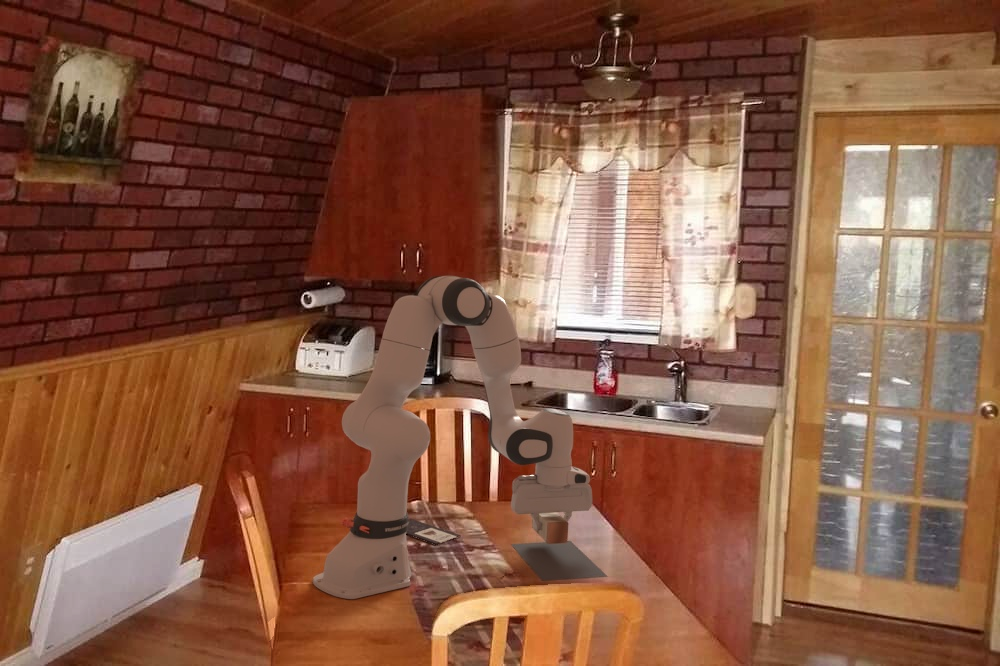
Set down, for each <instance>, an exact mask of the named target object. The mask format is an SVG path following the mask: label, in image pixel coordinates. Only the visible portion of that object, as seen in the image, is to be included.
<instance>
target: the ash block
mask: <svg viewBox="0 0 1000 666" xmlns="http://www.w3.org/2000/svg"><path fill="white" fill-rule="evenodd" d="M563 517H564V516H562V515H560V514H559V512H554V513H539V516H538V517H536V518H537V520H538V522H539V521H540V522H541V523H542V530H538V531H536V530H535V529H534V521H533V519H532V518H531V519H532V520H531V528H532V530H534V531H535V533H536V534H538V536H539V537H540V538H541V539H542V540H543V542H546V543H547V544H558V543H567V541H569V540H568V537H569V536H568V535H569V521H568V522H567V521H566V520H565V519H564V518H563Z"/></svg>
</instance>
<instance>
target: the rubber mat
mask: <svg viewBox="0 0 1000 666" xmlns="http://www.w3.org/2000/svg"><path fill="white" fill-rule="evenodd" d="M510 545H511V547H512V548H513V549H514V550H515V551H516V552H517V553H518V555H519V556H520V557H521V558H522V559H523V561H524V562H525V563H526V564H527V565H528V566H529V568H530V569H531V570H532V571H533V572H534V574H536V575H537V577H538V578H539V579H540V580H541V582H547V581H549V582H550V581H563V580H576V579H577V580H578V579H591V578H594V579H595V578H605V577H608V575H607V574H606V573H605V572H604V571H603V570H602V569H601V568H600V567H599V566H598V565H596V563H594V562H593V561H592V560H591V559H590V558H589V557H588V556H587V555H586V554H585V553H584V552H583V551H582V550H581V549H579V547H578V546H576V544H574V543H573V541H571V540H567V543H558V544H547V543H546V542H545V541H542V542H527V543H511V544H510Z"/></svg>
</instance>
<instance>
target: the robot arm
mask: <svg viewBox="0 0 1000 666" xmlns="http://www.w3.org/2000/svg"><path fill="white" fill-rule="evenodd" d="M442 324H444V325H448V326H459V327H465V328H466V331H467V332H468V334H469V337H470V339H469V340H470V342H471V347H472V351H473V355H474V357H475V361H476V364H477V365H478V370H479V373H480V375H481V378H482V381H483V387H484V392H485V395H486V401H487V402H486V403H487V406H488V410H489V424H488V432H487V439H488V442H489V445H490V446H491V448H492V449H493V450H494V451H496V452H497V453H498V454H501V455H503V456H504V458H506V459H508V460H510V461H511V462H512V463H514V464H516V465H519V466H528V465H534V464H535V473H534V474H531V475H518V476H517V477H516V478H514V479H513V481H512V484H511V490H512V496H511V502H510V508H511V510H512V511H513V513H515V514H516V515H529V516H530V517H531V519H533V521H534V529H535V530H536V531H538V530H542V523H541V522H540V521H539V522H538V520H537V518H536V517H538V516H539V513H554V512H557V513H563V514H564V515H563V516H562V517H563V518H564V519H565V520H566V521H567V522H568V523H569V521H570V519H571V518H572V515H573V513H574V512H587V511H590V509H592V507H593V490H592V486H591V485H590V481H591V477H590V475H589V474H588V473H587V472H586V471H585V470H583V469H582V468H579V467H576V466H572V465H573V464H572V463H573V460H572V456H571V455H572V450H573V448H574V426H573V425H574V424H573V419H572V417H571V415H570V414H568V413H567V412H565V411H562V410H559V409H558V408H557V409H556V408H550V407H549V408H548V407H547V408H546V407H545V408H542V409H541V410H540V411H539V412H538V413H537V414H535V415H534V416H531V417H530V418H528V419H527V420H522V418H521V417H520V416H519V415H518V413H517V411H516V408H515V403H514V398H513V393H512V388H511V377H512V375H513V374H514V373H515V372H516V371H517V370H518V369H519V368H520V366H521V363H522V351H521V350H522V349H521V342H520V340H519V339H520V337H519V335H518V331H517V328H516V324H515V322H514V319H513V316H512V313H511V311H510V309H509V306H508V305H507V303H506V301H505V299H504V298H502V297H501V296H499V295H496V294H491V293H488V292H487V291H486V289H485V288H484V287H483V286H482V285H481V284H480V283H478V282H477V281H476V280H474V279H471V278H467V277H459V276H457V275H456V276H455V275H436V276H433V277H430V278H428V279H427V280H425V281H424V282H423V283H421V285H420V287H419V288H418V289H417V290H416V292H415V293H414V294H412V295H404V296H402V297H399V298H398V299H397V300H396V301H395V303H394V304H393V306H392V308H391V311H390V313H389V315H388V318H387V321H386V323H385V326H384V330H383V333H382V336H381V337H382V338H381V340H380V344H379V348H378V352H377V357H376V359H375V363H374V367H373V370H372V373H371V375H370V377H369V380H367V383H366V385H365V386H364V388H363V390H362V392H361V393H360V395H359V396H358V397H357V399H356V400H354V401H352V402H351V403H350V404H349V405H348V406H346V409H345V410H344V411H343V414H342V417H341V428H342V431H343V432H344V434H345V435H346V436H347V438H349V439H350V440H351V442H353V443H354V444H356V446H359V447H361V448H364V449H366V450H368V451H370V454H371V455H370V463H369V466H368V468H367V470H366V471H365V472H364V473H362V475H360V477H359V478H358V482H357V505H356V508H357V509H356V512H355V515H354V516H353V519H350V518H349V517H344V518H342V520H341V525H342V527H344V528H347V529H349V532H348V533H347V535H345V536H344V537H343V538H342V539H341V540H340V542H339V543H337V544H336V545H335V547H334V548H333V549H332V550H331V551H330V552H329V553H328V554H327V555H326V558H325V562H324V567H323V568H324V569H323V572H321V573H318V574H316V575H315V576H313V577H312V584H313V585H314V587H316V588H317V589H319V590H320V591H322V592H324V593H326V594H328V595H330V596H333V597H337V598H341V599H347V600H356V599H359V598H364V597H367V596H368V597H369V596H372V595H376V594H381V593H385V592H389V591H394V590H398V589H403V588H406V587H410V586H411V577H412V575H413V574H412V570H411V566H410V560H409V555H408V553H409V552H408V543H407V535H406V531H407V530H408V519H409V513H408V512H407V511H408V510H407V509H408V493H409V492H408V491H409V490H408V489H409V481H410V478H411V473H412V471H413V467H414V465H415V463H416V462H417V461H418V459H419V458H421V457H422V456H424V454H425V453H426V451H427V450H428V448H429V446H430V441H431V430H430V428H429V427H430V426H429V425H428V424H427V423H426V421H424V420H423V419H422V418H421V417H420V416H417V415H416V414H415V413H414V412H412V411H409V410H407V409H404V408H403V406H404V404H405V402H406V400H407V398H408V397H409V395H410V394H411V393H413V391H414V390H416V389H417V388H419V387H420V386H421V384H422V383H423V379H424V376H425V371H426V369H427V365H428V364H427V363H428V361H429V355H430V351H431V347H432V342H433V337H434V336H435V332H436V331H437V329H438V328H439V326H441V325H442ZM534 529H533V530H534ZM535 530H534V531H535ZM536 531H535V532H536Z"/></svg>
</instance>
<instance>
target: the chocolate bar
mask: <svg viewBox="0 0 1000 666" xmlns="http://www.w3.org/2000/svg"><path fill="white" fill-rule="evenodd" d="M444 530H445V529H443V528H439V527H437V526H434V525H431V524H427V523H425V522H422V521H419V520H416V519H414V518H413V519H412V518H408V530H407V531H406V534H408V535H410V536H414V537H417V538H419V539H422V540H425V541H427V542H430V543H433V544H435V545H434V546H436V545H437V546H439V545H438V544H440V543H442V542H445V541H447V540H450V539H453V538H456V537H458V536H460V537H461V535H460V534H458V533H455V532H451V531H448V530H445V531H444ZM410 536H409V537H410ZM419 539H418V540H419ZM422 540H421V541H422ZM427 542H426V543H427ZM430 543H429V544H430ZM445 543H446V542H445ZM433 544H432V545H433ZM440 545H441V544H440Z"/></svg>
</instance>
